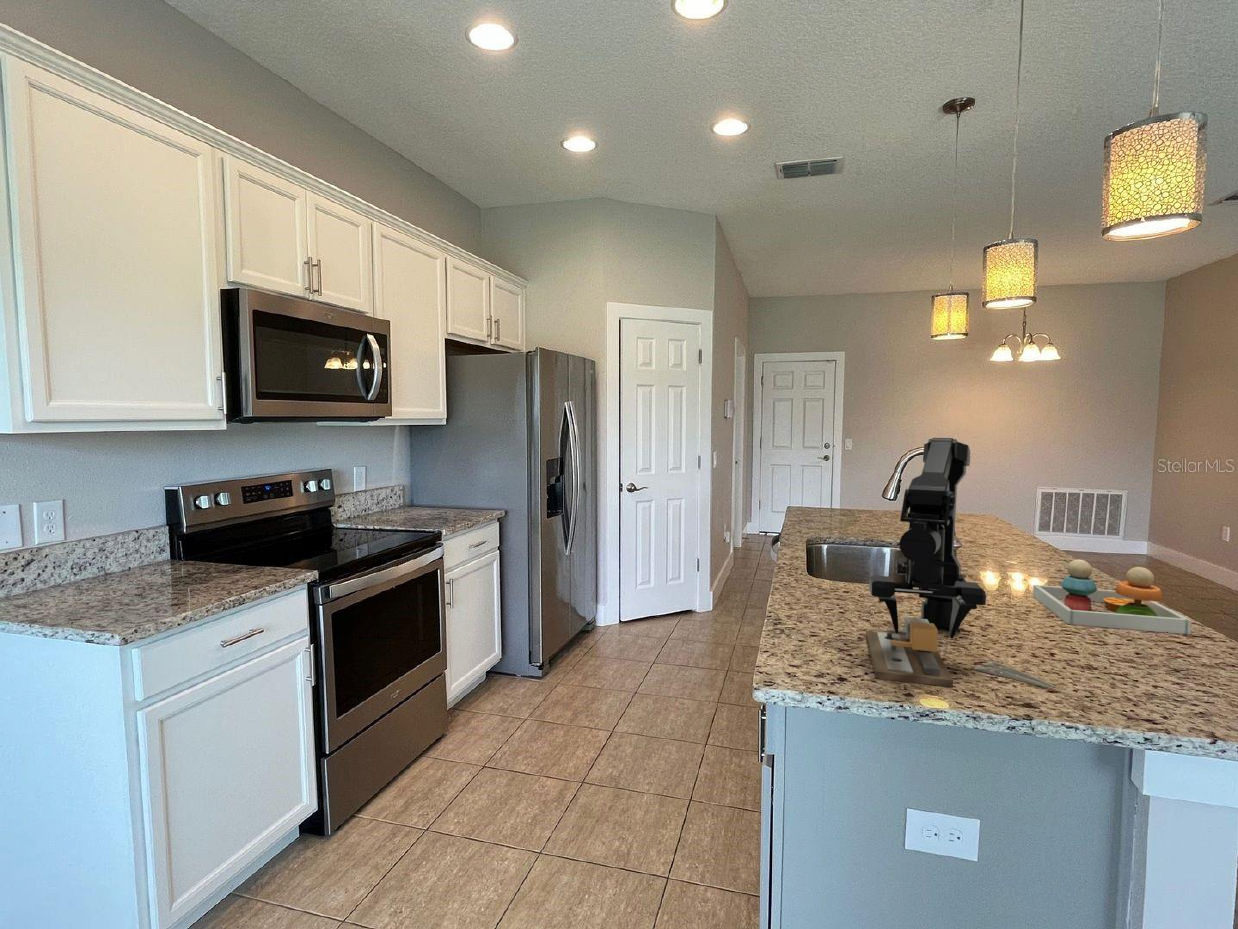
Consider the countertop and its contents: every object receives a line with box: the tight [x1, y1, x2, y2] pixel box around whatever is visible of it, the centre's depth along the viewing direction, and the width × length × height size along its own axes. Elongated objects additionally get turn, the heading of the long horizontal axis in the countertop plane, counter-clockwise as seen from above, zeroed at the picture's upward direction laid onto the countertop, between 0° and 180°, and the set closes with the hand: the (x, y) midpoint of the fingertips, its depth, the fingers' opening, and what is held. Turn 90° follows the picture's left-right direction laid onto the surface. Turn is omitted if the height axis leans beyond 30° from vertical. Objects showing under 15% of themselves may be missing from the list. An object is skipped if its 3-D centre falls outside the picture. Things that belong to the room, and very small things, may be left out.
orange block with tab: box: [891, 621, 939, 652], centre depth 115 cm, size 8×4×5 cm, turn 72°
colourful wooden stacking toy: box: [1060, 558, 1163, 617], centre depth 145 cm, size 18×17×12 cm
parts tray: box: [1032, 584, 1192, 635], centre depth 144 cm, size 22×23×3 cm
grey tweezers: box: [974, 661, 1071, 694], centre depth 106 cm, size 17×5×2 cm, turn 38°
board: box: [865, 616, 954, 688], centre depth 116 cm, size 12×22×5 cm, turn 162°
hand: (923, 635), depth 115 cm, fingers open, 9 cm apart
